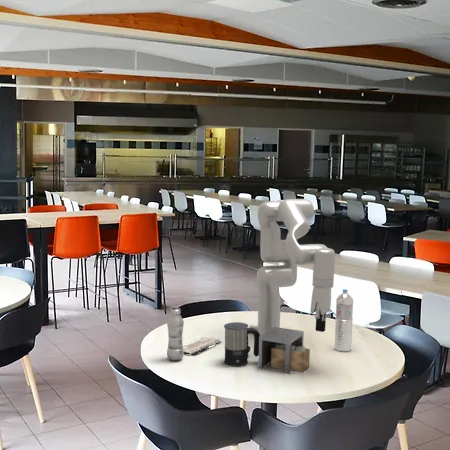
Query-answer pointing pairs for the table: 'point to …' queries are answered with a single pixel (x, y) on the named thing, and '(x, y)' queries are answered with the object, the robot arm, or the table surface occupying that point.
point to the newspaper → (200, 344)
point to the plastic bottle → (175, 335)
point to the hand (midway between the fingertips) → (320, 330)
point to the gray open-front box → (278, 336)
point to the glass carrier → (297, 357)
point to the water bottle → (343, 322)
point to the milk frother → (239, 343)
